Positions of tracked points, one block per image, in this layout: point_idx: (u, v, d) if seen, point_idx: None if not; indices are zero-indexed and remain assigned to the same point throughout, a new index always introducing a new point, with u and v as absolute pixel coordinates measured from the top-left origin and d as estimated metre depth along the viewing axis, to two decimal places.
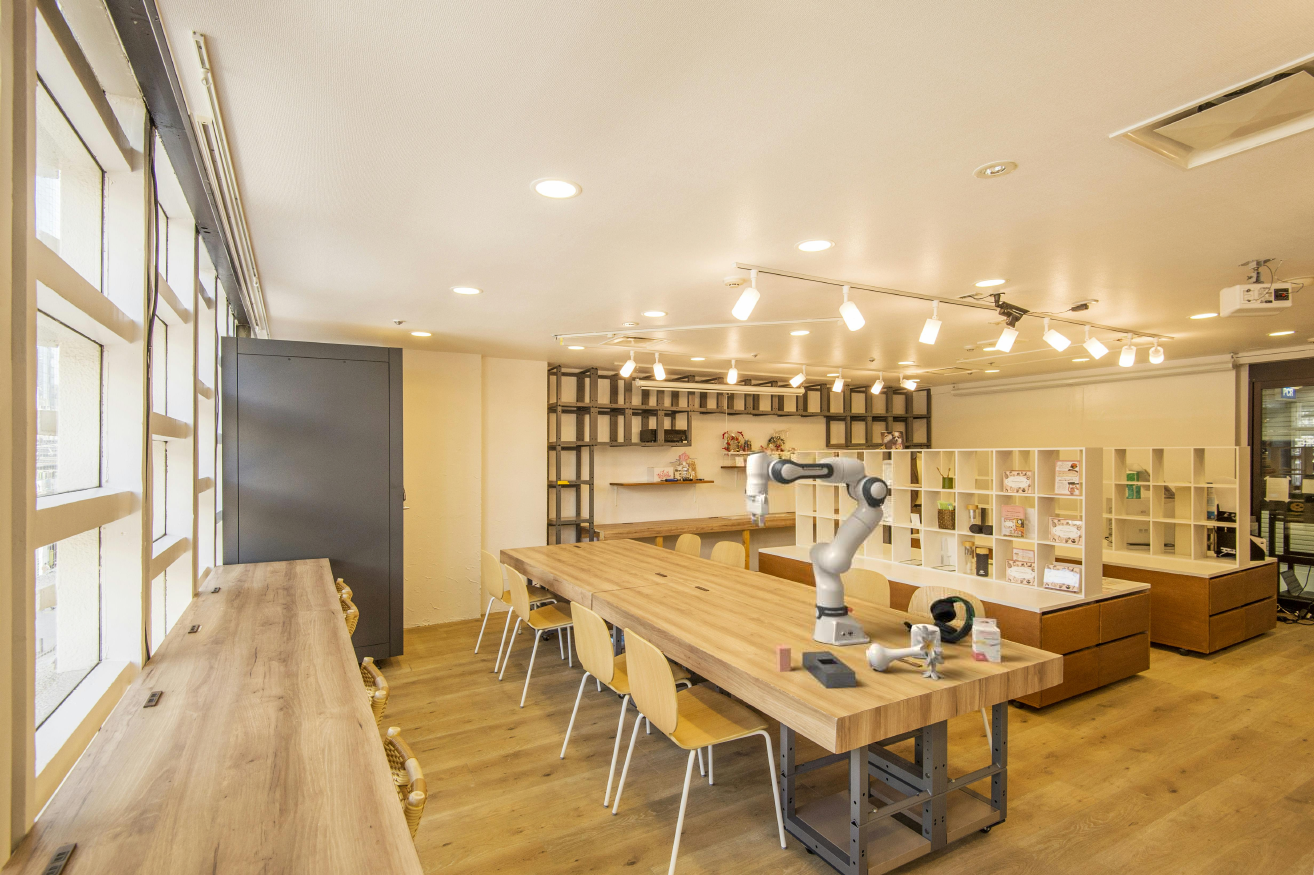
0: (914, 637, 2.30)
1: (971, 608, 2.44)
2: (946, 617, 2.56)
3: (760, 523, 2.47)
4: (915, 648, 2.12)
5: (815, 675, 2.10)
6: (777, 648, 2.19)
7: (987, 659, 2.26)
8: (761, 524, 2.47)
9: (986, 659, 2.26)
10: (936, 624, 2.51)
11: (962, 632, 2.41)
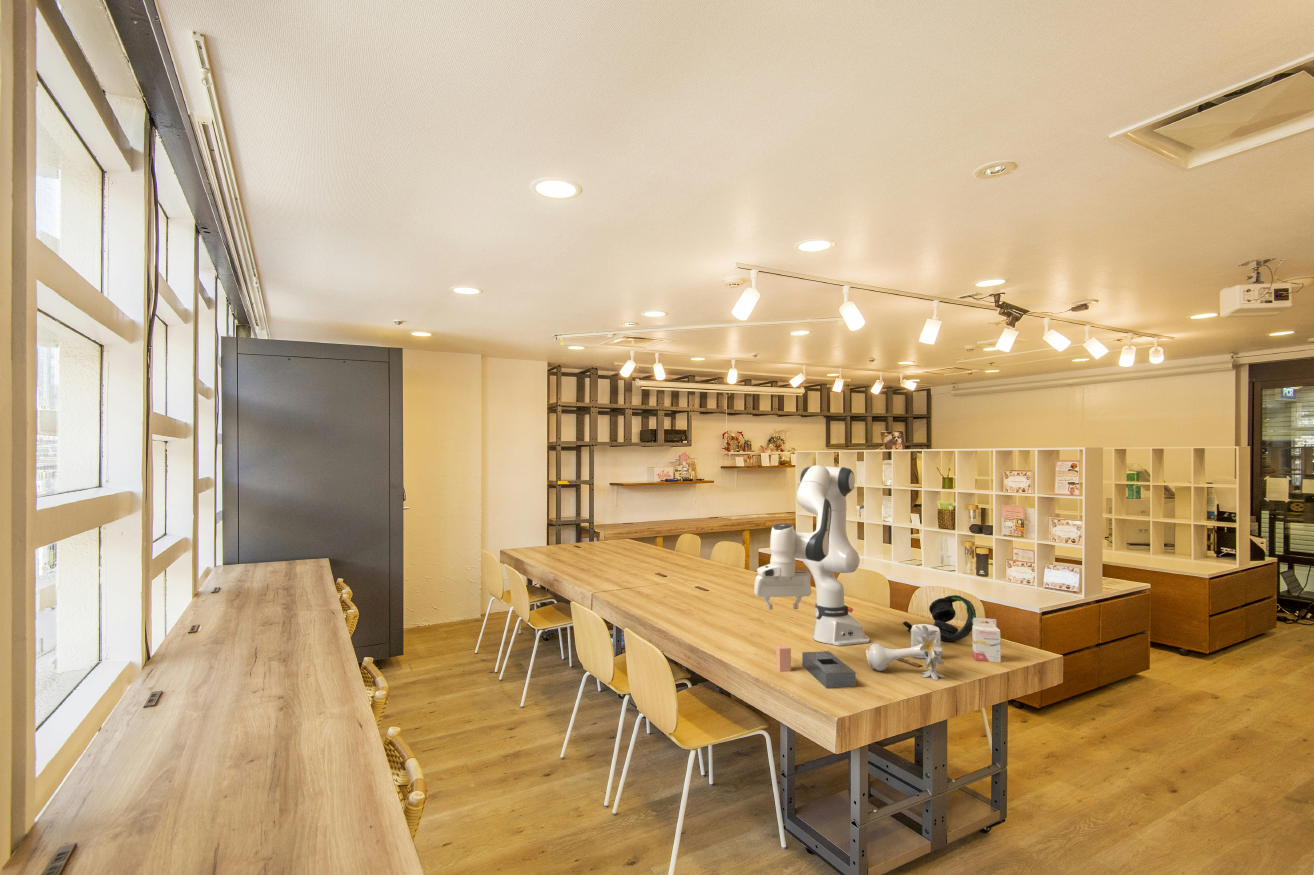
0: (914, 637, 2.30)
1: (972, 607, 2.46)
2: (945, 616, 2.58)
3: None
4: (915, 648, 2.12)
5: (815, 675, 2.10)
6: (777, 648, 2.19)
7: (987, 659, 2.26)
8: None
9: (986, 659, 2.26)
10: (937, 623, 2.52)
11: (964, 631, 2.43)
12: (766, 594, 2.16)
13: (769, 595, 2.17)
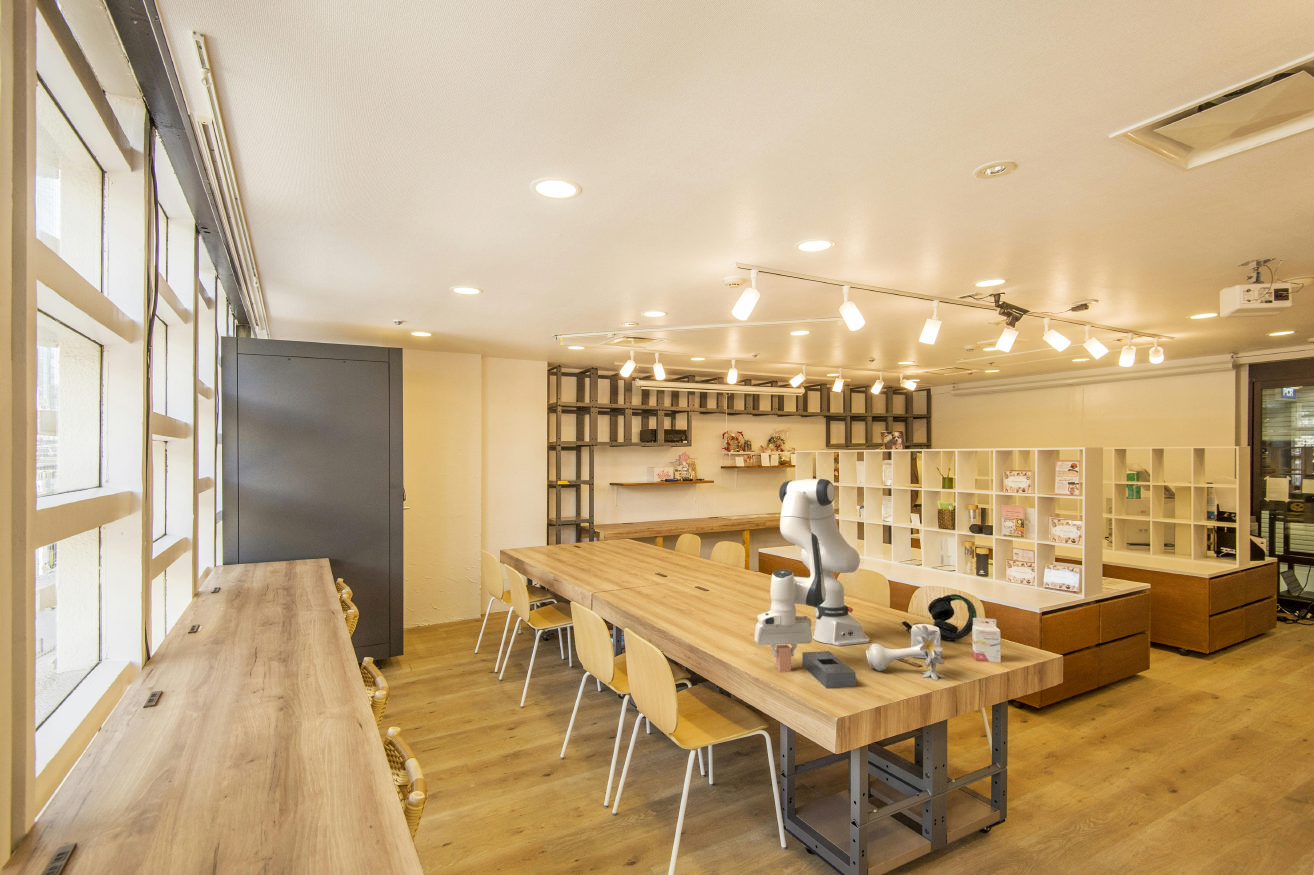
0: (914, 637, 2.30)
1: (972, 606, 2.48)
2: (944, 615, 2.59)
3: None
4: (915, 648, 2.12)
5: (815, 675, 2.10)
6: (777, 648, 2.19)
7: (987, 659, 2.26)
8: None
9: (986, 659, 2.26)
10: (937, 623, 2.53)
11: (965, 630, 2.44)
12: (766, 642, 2.16)
13: (769, 643, 2.16)
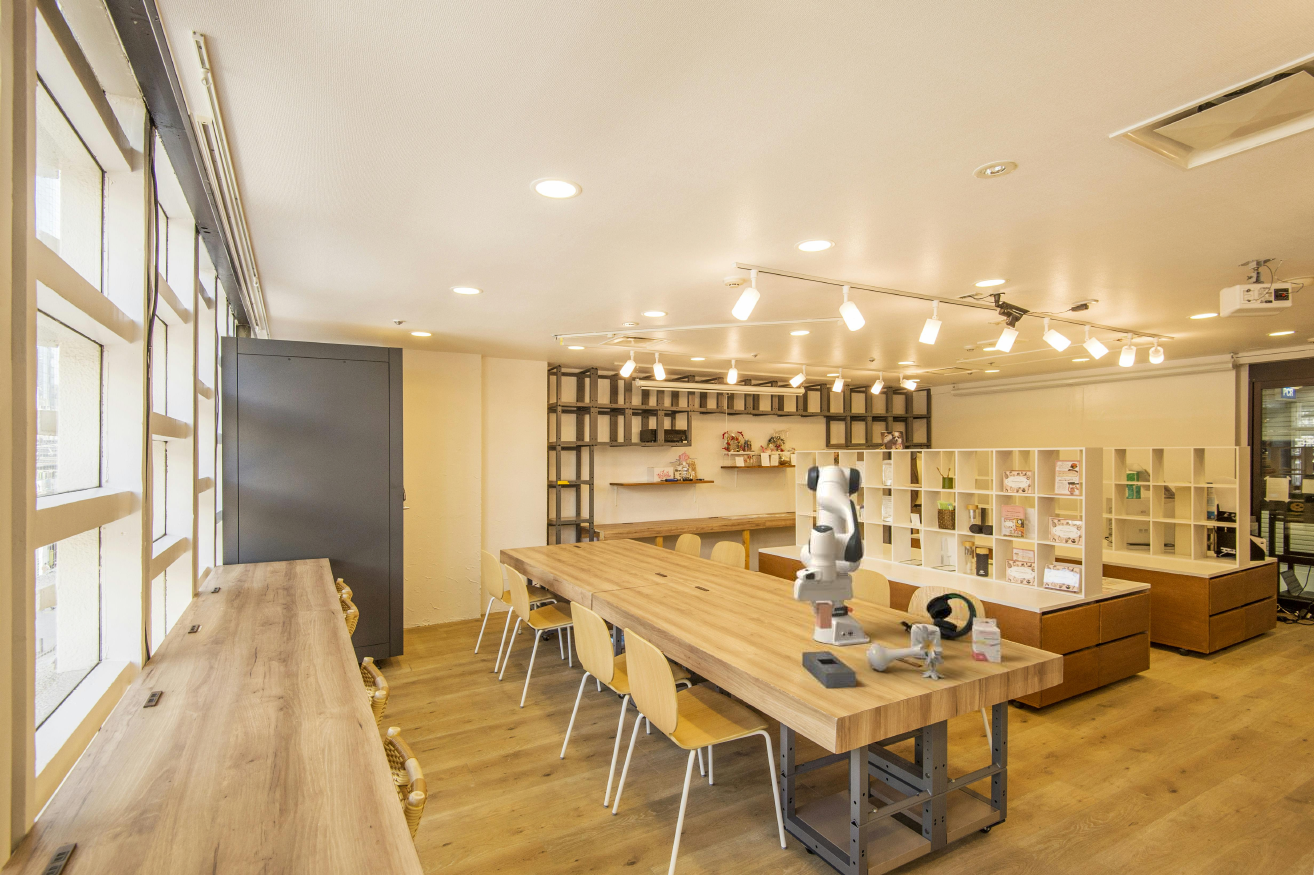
0: (914, 637, 2.30)
1: (972, 604, 2.51)
2: (941, 614, 2.61)
3: None
4: (915, 648, 2.12)
5: (815, 675, 2.10)
6: (817, 605, 2.13)
7: (987, 659, 2.26)
8: None
9: (986, 659, 2.26)
10: (938, 622, 2.54)
11: (967, 628, 2.47)
12: (807, 598, 2.11)
13: (810, 599, 2.11)
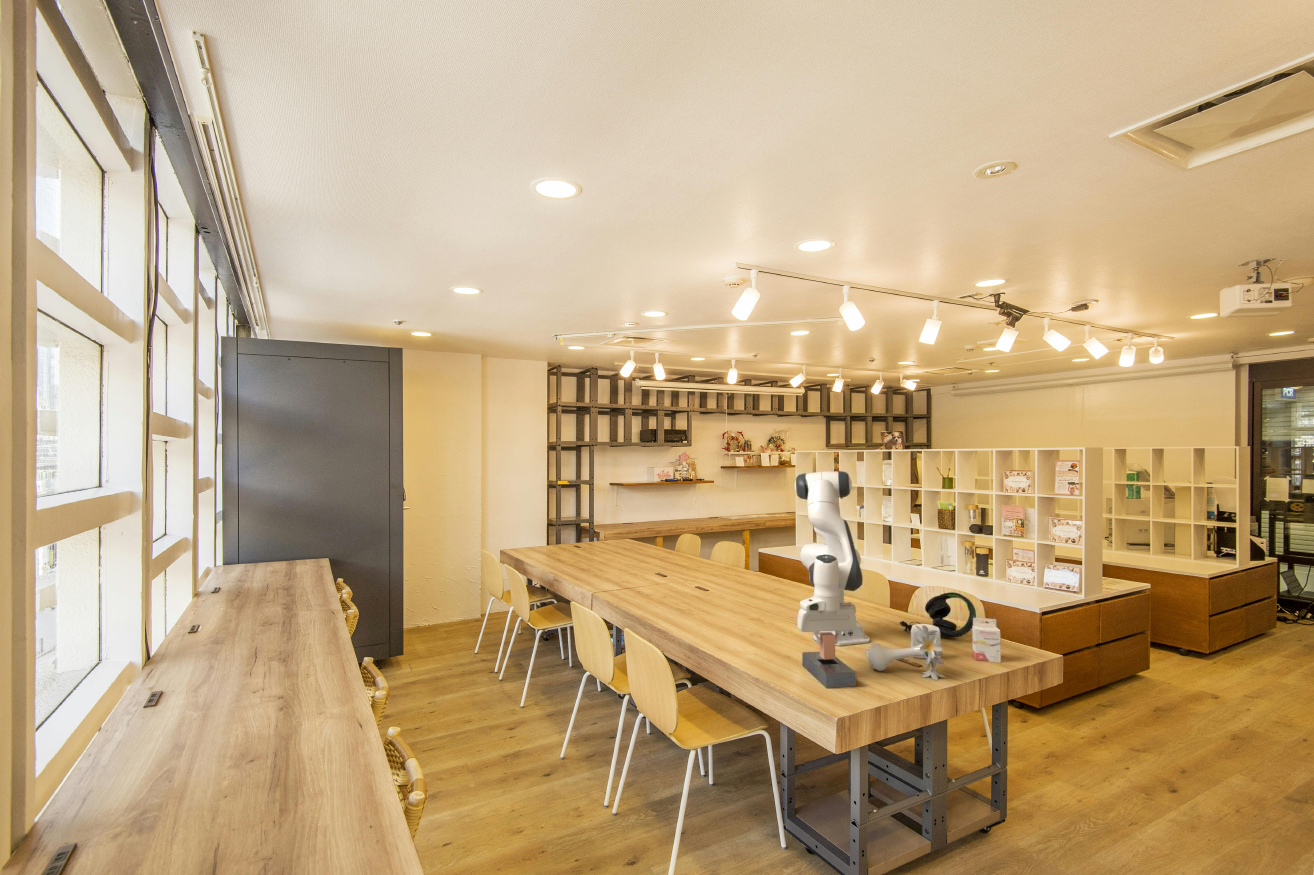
0: (914, 637, 2.30)
1: (971, 603, 2.53)
2: (940, 613, 2.62)
3: None
4: (915, 648, 2.12)
5: (815, 675, 2.10)
6: (821, 635, 2.12)
7: (987, 659, 2.26)
8: None
9: (986, 659, 2.26)
10: (937, 621, 2.55)
11: (967, 627, 2.48)
12: (810, 629, 2.10)
13: (813, 630, 2.10)
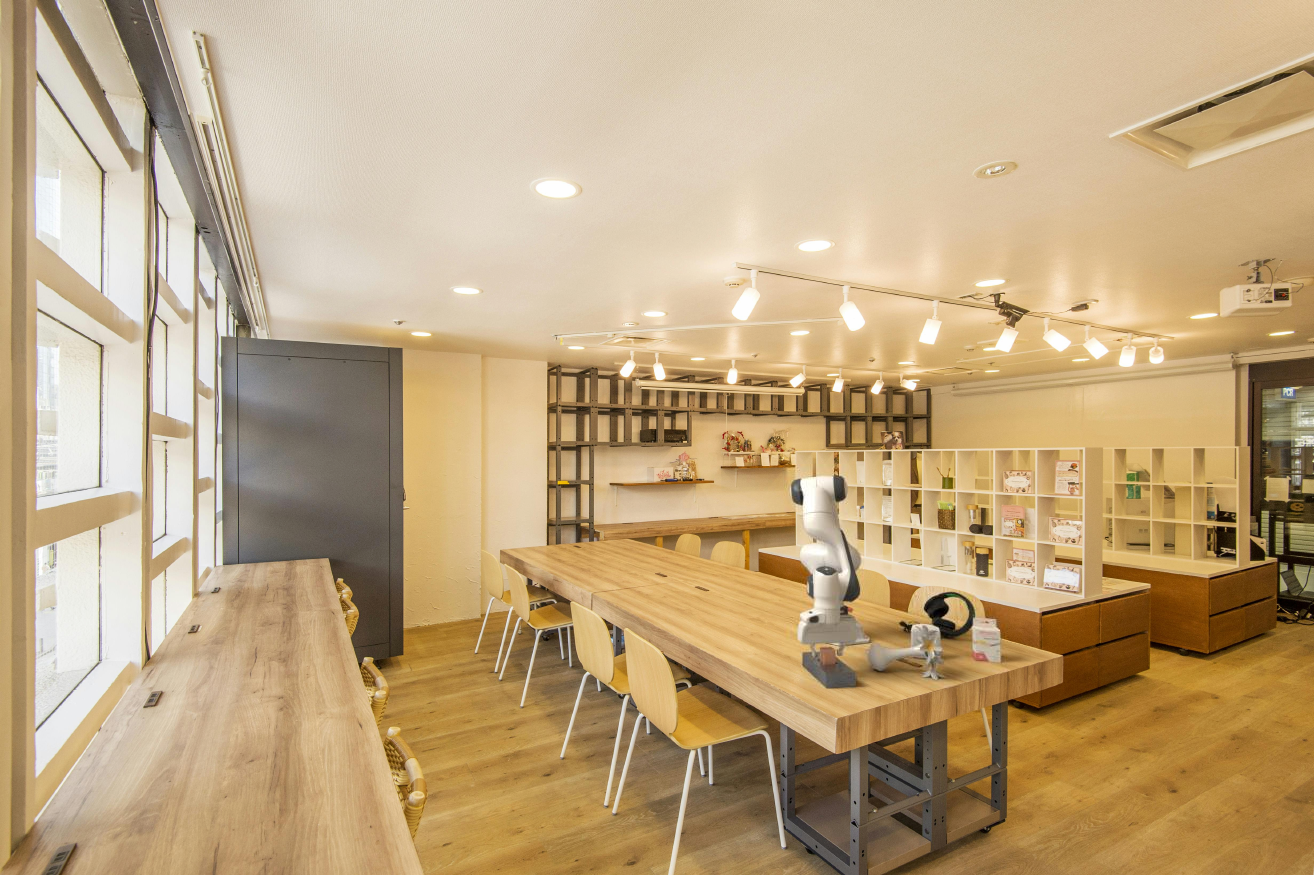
0: (914, 637, 2.30)
1: (970, 602, 2.54)
2: (938, 613, 2.63)
3: None
4: (915, 648, 2.12)
5: (815, 675, 2.10)
6: (821, 650, 2.12)
7: (987, 659, 2.26)
8: None
9: (986, 659, 2.26)
10: (937, 621, 2.56)
11: (967, 626, 2.49)
12: (811, 641, 2.10)
13: (814, 642, 2.10)
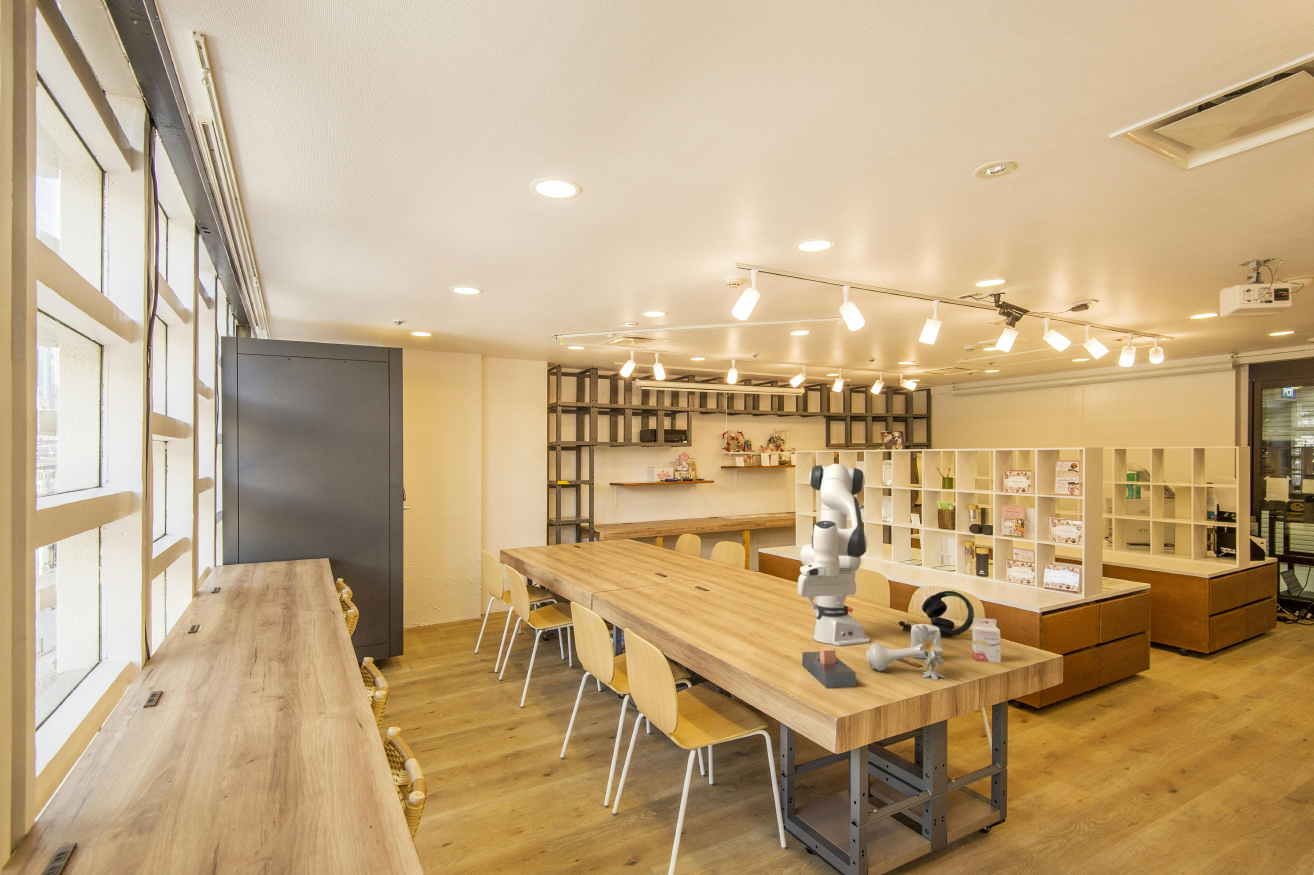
0: (914, 637, 2.30)
1: (968, 601, 2.56)
2: (936, 612, 2.65)
3: None
4: (915, 648, 2.12)
5: (815, 675, 2.10)
6: (821, 650, 2.12)
7: (987, 659, 2.26)
8: None
9: (986, 659, 2.26)
10: (937, 620, 2.57)
11: (967, 625, 2.51)
12: (810, 594, 2.12)
13: (813, 595, 2.12)
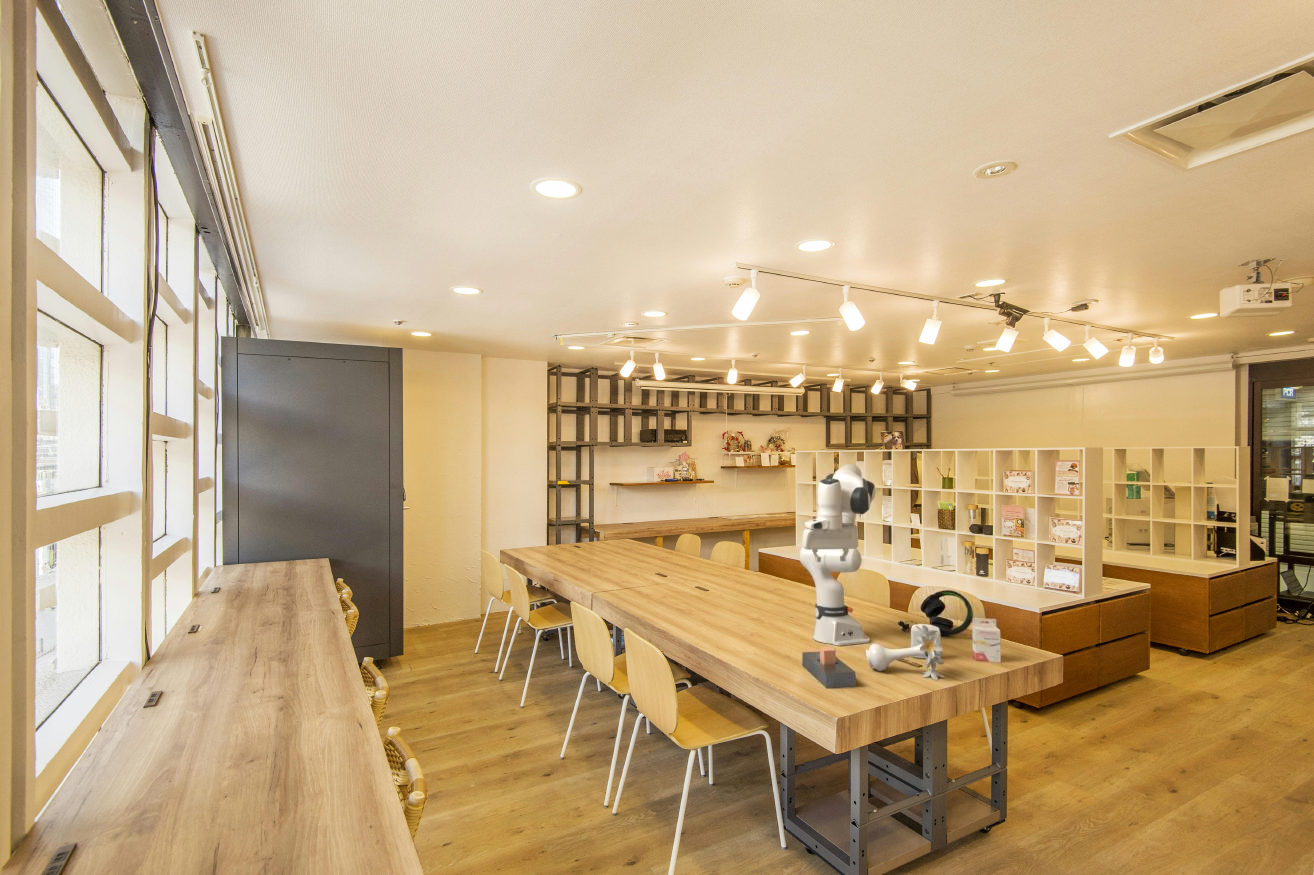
0: (914, 637, 2.30)
1: (967, 600, 2.58)
2: (934, 611, 2.66)
3: None
4: (915, 648, 2.12)
5: (815, 675, 2.10)
6: (821, 650, 2.12)
7: (987, 659, 2.26)
8: None
9: (986, 659, 2.26)
10: (936, 620, 2.58)
11: (966, 624, 2.53)
12: (814, 546, 2.22)
13: (817, 547, 2.22)
